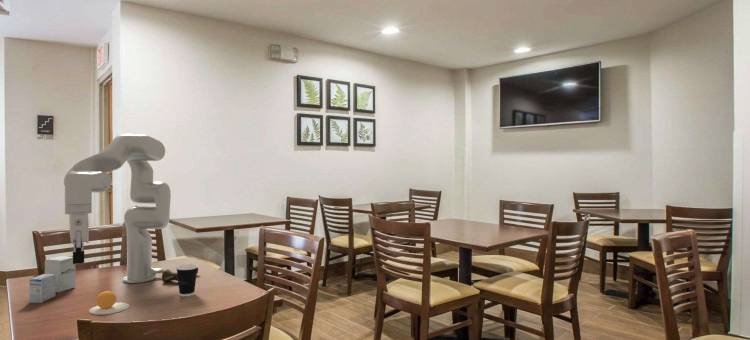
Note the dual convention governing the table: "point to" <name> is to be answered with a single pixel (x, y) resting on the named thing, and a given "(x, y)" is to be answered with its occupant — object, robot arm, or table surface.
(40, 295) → the medicine box
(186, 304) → the table surface
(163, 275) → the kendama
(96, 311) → the disc
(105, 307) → the ball
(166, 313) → the table surface
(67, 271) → the supplement box
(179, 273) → the dixie cup
